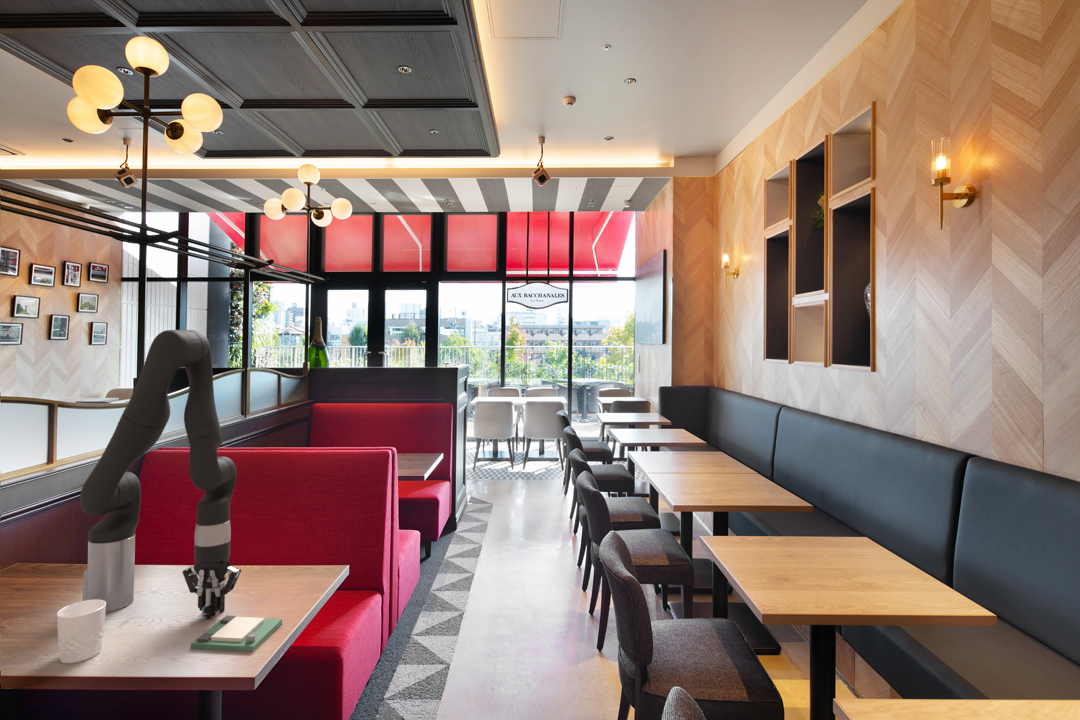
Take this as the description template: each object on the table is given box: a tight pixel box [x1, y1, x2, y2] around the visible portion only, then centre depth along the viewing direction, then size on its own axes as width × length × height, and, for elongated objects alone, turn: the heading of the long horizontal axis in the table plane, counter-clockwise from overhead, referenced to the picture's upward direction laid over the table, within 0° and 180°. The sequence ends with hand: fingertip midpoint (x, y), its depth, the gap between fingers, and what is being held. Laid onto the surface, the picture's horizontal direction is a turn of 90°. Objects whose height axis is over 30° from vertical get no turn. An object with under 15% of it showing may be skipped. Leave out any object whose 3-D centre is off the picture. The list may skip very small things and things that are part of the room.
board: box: [190, 615, 283, 653], centre depth 120 cm, size 14×12×2 cm
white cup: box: [56, 600, 106, 664], centre depth 111 cm, size 8×8×10 cm
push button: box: [197, 576, 227, 621], centre depth 128 cm, size 7×5×10 cm
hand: (211, 609), depth 129 cm, fingers closed on push button, 3 cm apart
